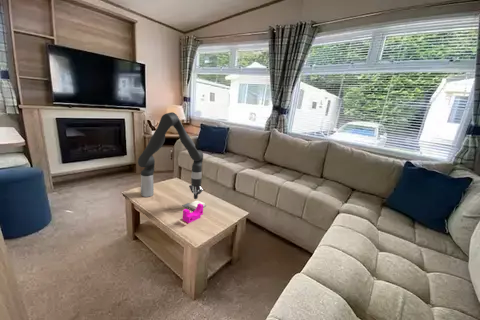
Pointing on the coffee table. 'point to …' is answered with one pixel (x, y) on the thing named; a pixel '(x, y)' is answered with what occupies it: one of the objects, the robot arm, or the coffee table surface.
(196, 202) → the tile
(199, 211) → the magenta pipe clamp half
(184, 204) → the mat
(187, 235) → the coffee table surface
